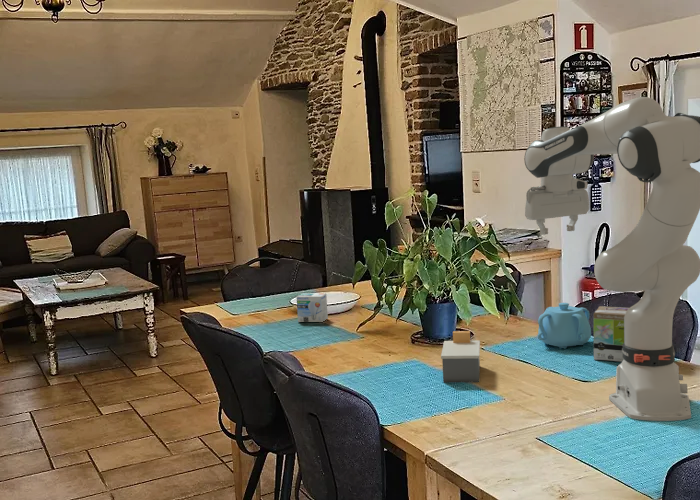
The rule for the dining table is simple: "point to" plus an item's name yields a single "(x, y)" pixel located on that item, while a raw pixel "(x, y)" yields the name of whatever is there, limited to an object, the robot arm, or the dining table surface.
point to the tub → (461, 370)
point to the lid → (461, 347)
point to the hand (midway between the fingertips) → (557, 232)
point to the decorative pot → (564, 326)
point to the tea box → (609, 333)
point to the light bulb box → (312, 307)
